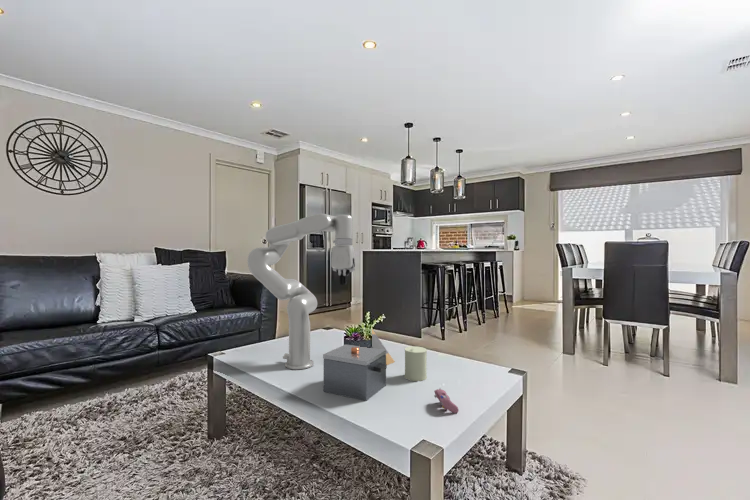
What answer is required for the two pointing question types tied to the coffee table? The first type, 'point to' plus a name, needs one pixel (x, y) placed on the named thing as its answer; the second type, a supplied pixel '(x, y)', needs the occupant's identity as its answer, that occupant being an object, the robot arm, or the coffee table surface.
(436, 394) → the pink toy animal
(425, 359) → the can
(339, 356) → the lid
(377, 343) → the sandwich container
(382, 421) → the coffee table surface
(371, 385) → the grey storage box
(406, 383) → the coffee table surface
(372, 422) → the coffee table surface
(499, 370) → the coffee table surface
